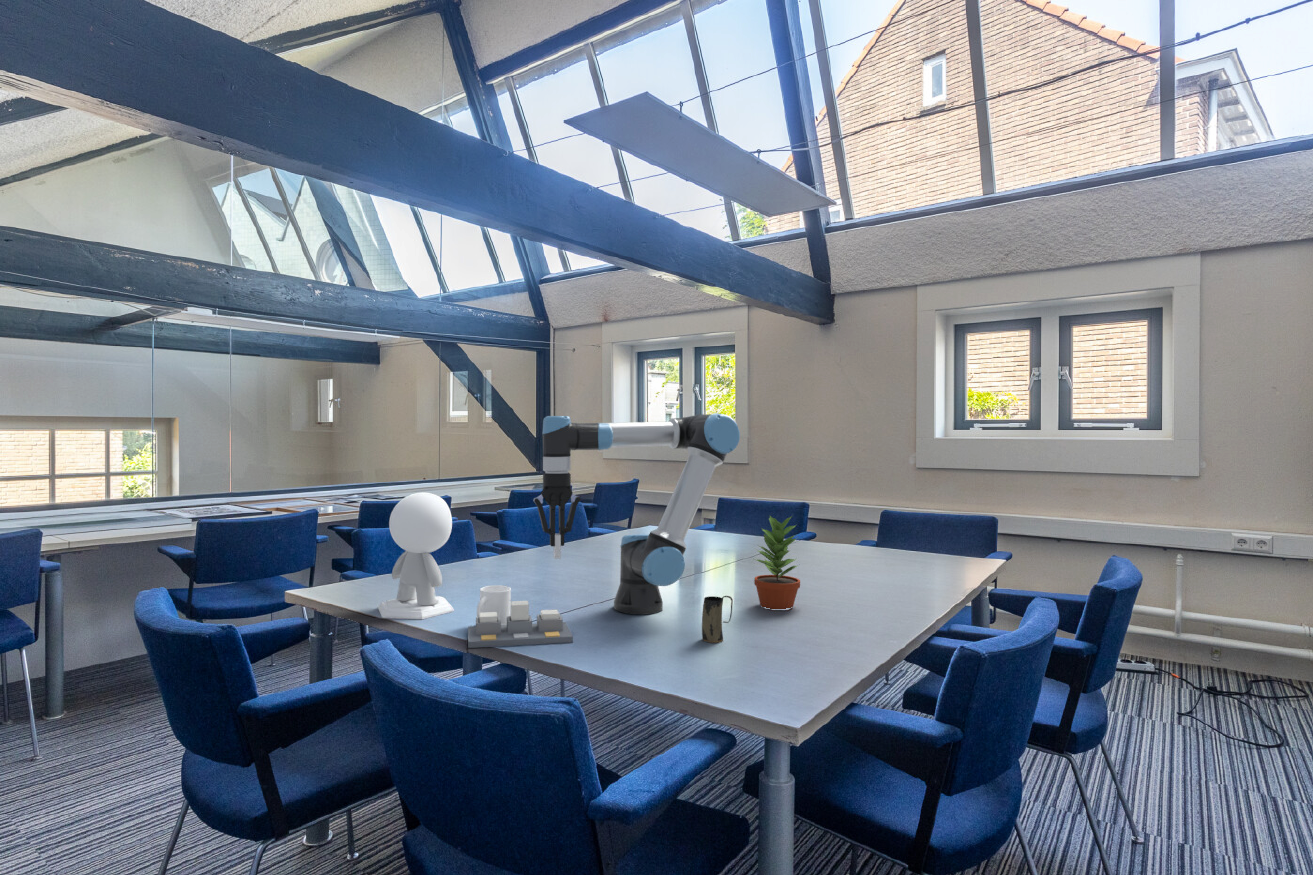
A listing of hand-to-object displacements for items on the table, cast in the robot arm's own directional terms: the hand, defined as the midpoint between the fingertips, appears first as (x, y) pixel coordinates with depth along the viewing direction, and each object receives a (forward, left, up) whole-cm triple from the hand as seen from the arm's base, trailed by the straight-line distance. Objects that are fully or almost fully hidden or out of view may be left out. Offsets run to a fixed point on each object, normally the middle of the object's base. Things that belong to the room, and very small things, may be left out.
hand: (557, 557), depth 190 cm
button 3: (+18, +5, -18) cm, 26 cm away
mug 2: (-40, +18, -20) cm, 48 cm away
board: (+10, +6, -20) cm, 23 cm away
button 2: (+10, +5, -15) cm, 19 cm away
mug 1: (+17, -5, -20) cm, 27 cm away
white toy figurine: (+38, -27, -20) cm, 51 cm away
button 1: (+2, +5, -18) cm, 18 cm away
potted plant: (-72, -13, -20) cm, 75 cm away
